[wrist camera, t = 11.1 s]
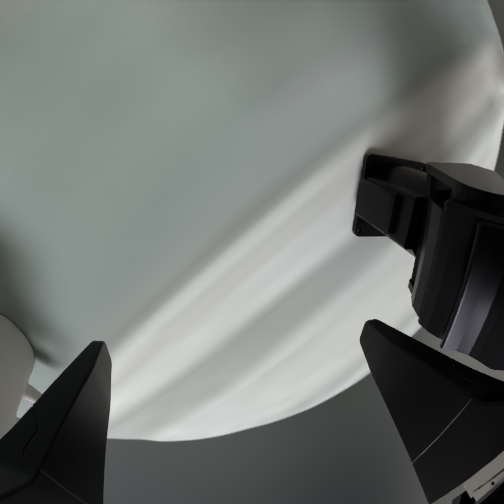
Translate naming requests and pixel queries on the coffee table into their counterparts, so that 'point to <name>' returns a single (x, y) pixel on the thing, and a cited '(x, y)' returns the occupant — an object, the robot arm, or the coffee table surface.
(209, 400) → the coffee table surface
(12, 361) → the mug
